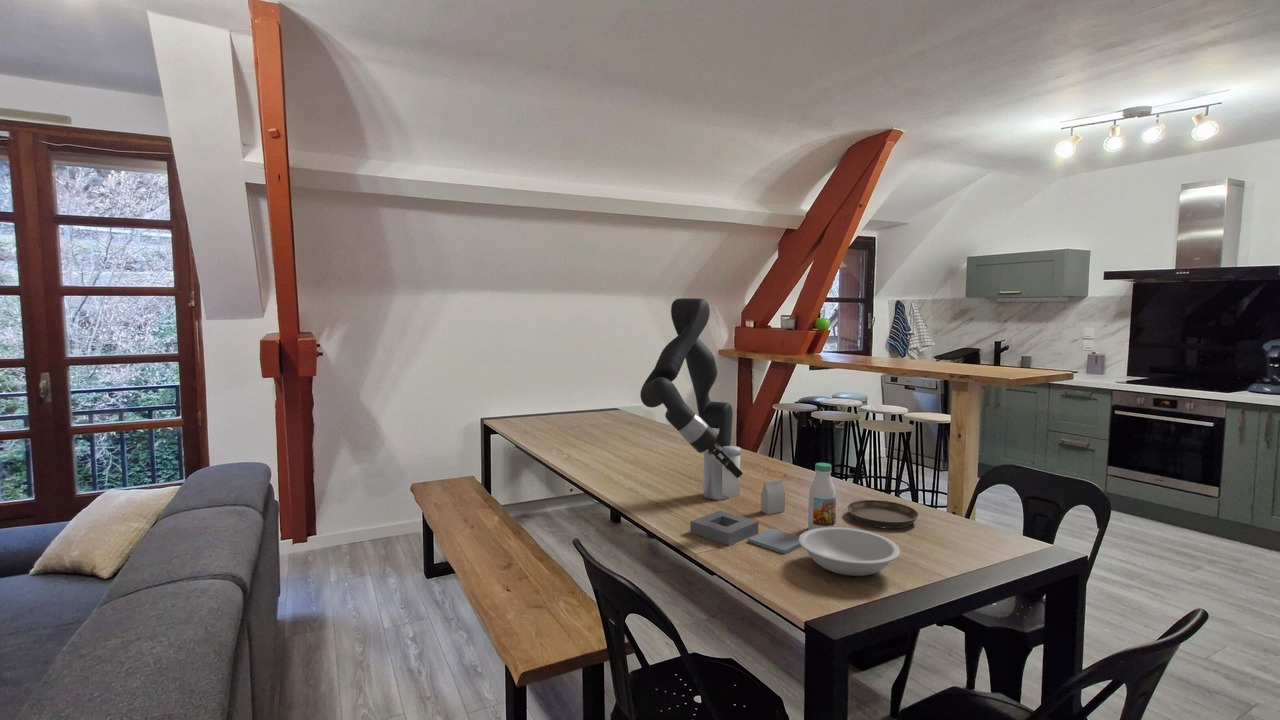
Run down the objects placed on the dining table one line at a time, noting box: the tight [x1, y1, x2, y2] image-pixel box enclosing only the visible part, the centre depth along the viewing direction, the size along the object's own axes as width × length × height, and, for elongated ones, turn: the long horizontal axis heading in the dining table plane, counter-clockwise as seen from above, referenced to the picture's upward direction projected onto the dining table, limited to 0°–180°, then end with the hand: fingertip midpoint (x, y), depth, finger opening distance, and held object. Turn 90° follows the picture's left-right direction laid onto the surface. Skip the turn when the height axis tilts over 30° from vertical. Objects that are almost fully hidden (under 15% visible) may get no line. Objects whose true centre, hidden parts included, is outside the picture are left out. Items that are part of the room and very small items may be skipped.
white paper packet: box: [760, 479, 786, 515], centre depth 198 cm, size 4×7×10 cm, turn 116°
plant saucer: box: [846, 499, 920, 529], centre depth 191 cm, size 21×21×3 cm
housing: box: [689, 510, 759, 547], centre depth 178 cm, size 14×14×4 cm
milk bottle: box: [807, 462, 837, 530], centre depth 180 cm, size 8×8×20 cm
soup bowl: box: [799, 526, 901, 577], centre depth 153 cm, size 24×24×7 cm
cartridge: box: [722, 445, 742, 498], centre depth 176 cm, size 5×5×14 cm
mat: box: [747, 528, 801, 555], centre depth 171 cm, size 12×12×1 cm
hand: (737, 472), depth 176 cm, fingers closed on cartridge, 5 cm apart
